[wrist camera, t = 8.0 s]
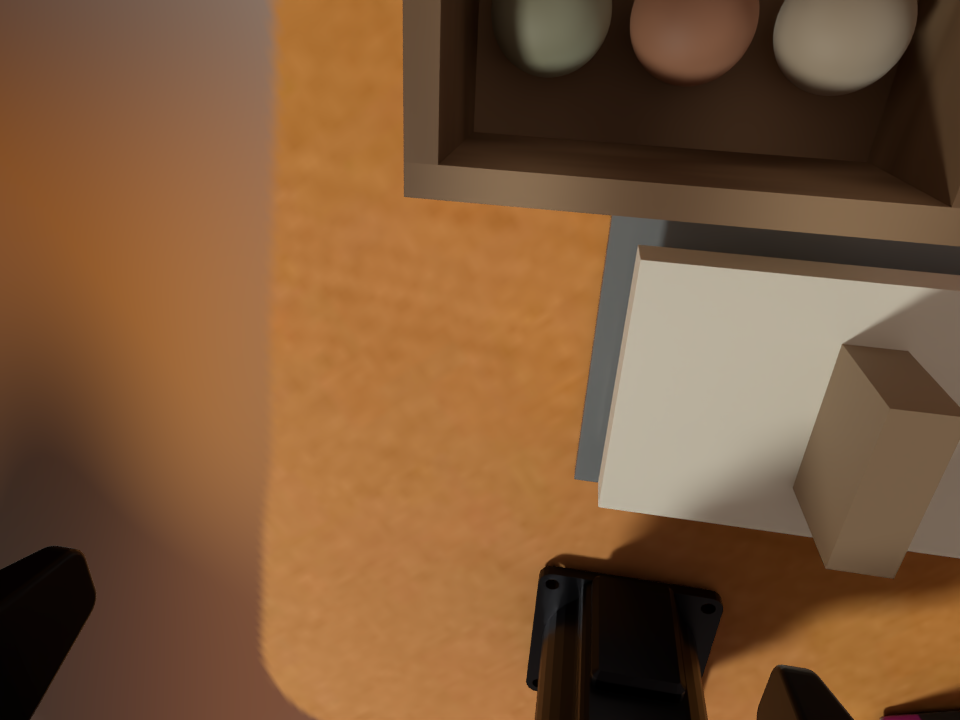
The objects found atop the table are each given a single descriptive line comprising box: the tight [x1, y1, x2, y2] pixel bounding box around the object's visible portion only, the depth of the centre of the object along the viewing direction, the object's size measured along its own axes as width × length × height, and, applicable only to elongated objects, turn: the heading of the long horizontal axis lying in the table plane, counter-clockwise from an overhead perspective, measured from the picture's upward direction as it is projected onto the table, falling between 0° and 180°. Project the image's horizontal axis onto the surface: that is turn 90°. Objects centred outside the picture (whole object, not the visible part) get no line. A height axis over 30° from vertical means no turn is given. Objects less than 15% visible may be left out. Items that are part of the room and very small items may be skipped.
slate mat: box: [574, 215, 960, 482], centre depth 19 cm, size 9×13×1 cm
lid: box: [598, 245, 960, 579], centre depth 16 cm, size 12×8×5 cm, turn 87°
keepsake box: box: [403, 0, 960, 246], centre depth 13 cm, size 11×7×5 cm, turn 87°
